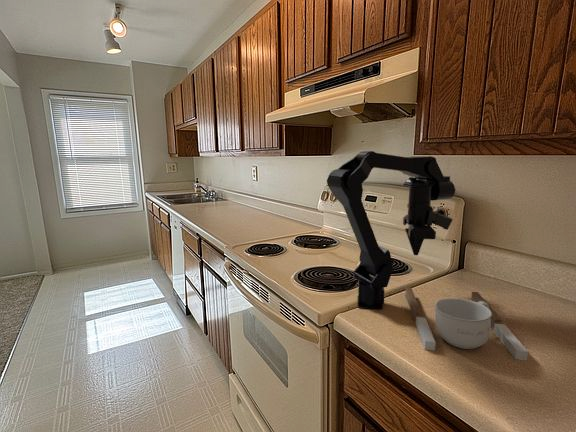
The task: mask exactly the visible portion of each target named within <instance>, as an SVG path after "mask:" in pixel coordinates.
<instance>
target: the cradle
mask: <svg viewBox="0 0 576 432" xmlns="http://www.w3.org/2000/svg"><path fill="white" fill-rule="evenodd" d="M404 296H405V298H406V301H407V303H408V307H409V309H410V312H411V315H412V317H413V320H414V322H415V323H416V317H423V312H422V310H421V308H420V305H419V303H418V301H417V298H416V296H415V292H414V291H413V288H412V287H408V286H407V287H405V295H404ZM470 300H471V301H474V302H479V301H484V302H486V303H487V304H488V305H489V310H490V311H491V313H492V316H491V325H490V327H492V329H494V325H495V324H503V319H502V318H501V316H500V315H498V313H497V312H496V310H495V309H494V308H493V307H492V306H491V305H490V303H488V302H487V300H485V298H484V297H483V296H482V295H481V294H480V293H479V292H478V291H471V296H470Z"/></svg>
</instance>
